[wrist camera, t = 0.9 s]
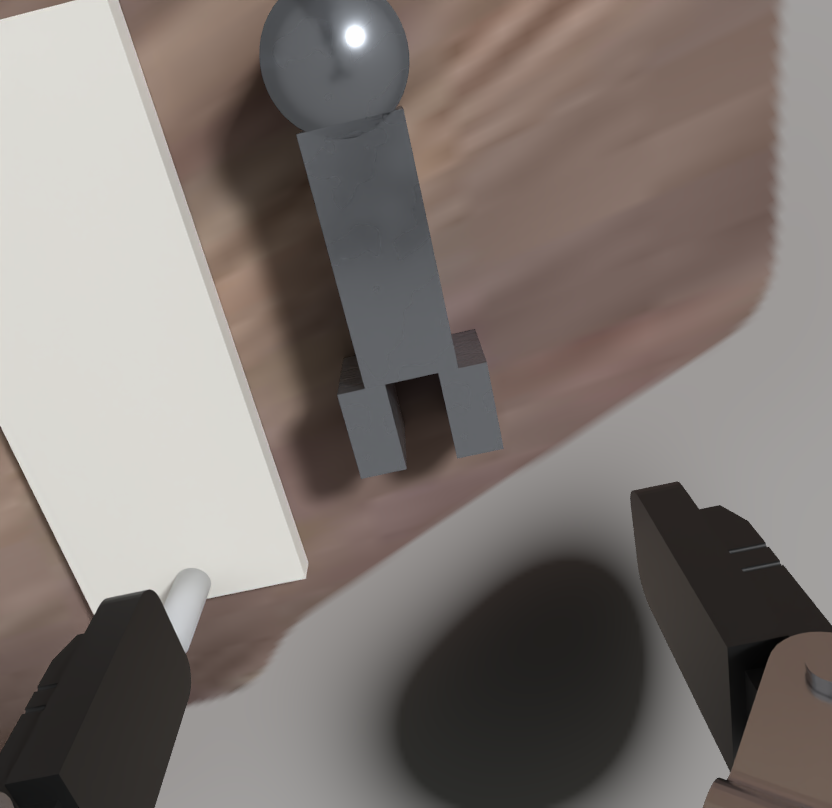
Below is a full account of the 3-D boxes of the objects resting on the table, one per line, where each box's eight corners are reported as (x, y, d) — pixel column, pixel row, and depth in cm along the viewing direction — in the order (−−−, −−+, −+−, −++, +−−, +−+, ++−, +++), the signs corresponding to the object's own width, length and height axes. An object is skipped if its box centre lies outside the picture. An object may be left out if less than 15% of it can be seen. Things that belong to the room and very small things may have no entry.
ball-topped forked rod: (247, 12, 26) (223, 0, 22) (404, -27, 25) (406, -47, 22) (364, 434, 32) (361, 478, 29) (490, 406, 32) (503, 448, 28)
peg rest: (-154, 66, 26) (-277, 61, 21) (117, -3, 25) (54, -24, 21) (106, 604, 35) (61, 685, 31) (308, 562, 35) (295, 638, 30)
